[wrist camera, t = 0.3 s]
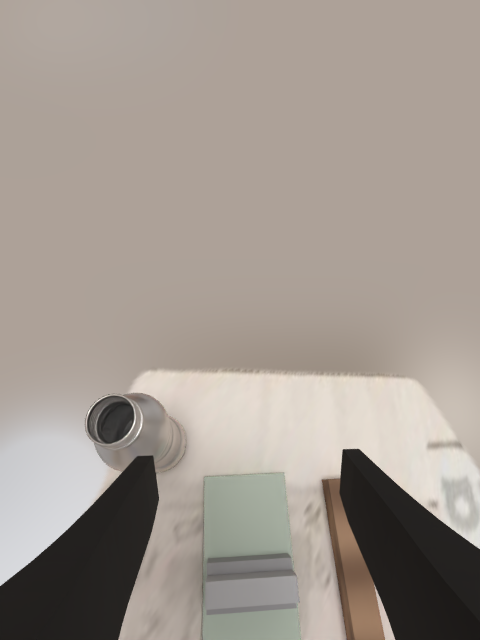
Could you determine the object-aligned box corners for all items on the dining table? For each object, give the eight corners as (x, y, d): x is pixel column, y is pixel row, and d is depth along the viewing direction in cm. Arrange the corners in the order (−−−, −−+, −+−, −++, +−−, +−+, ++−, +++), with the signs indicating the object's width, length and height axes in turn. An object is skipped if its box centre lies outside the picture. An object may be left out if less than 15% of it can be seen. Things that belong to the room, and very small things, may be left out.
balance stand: (306, 707, 28) (321, 751, 23) (202, 717, 27) (197, 764, 23) (282, 472, 37) (290, 472, 33) (204, 476, 37) (202, 476, 32)
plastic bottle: (170, 408, 40) (128, 357, 23) (198, 449, 38) (174, 428, 20) (129, 439, 38) (47, 408, 21) (155, 484, 36) (88, 494, 18)
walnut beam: (382, 681, 29) (397, 702, 26) (353, 684, 29) (365, 705, 26) (343, 478, 38) (352, 478, 35) (321, 479, 37) (328, 480, 35)
